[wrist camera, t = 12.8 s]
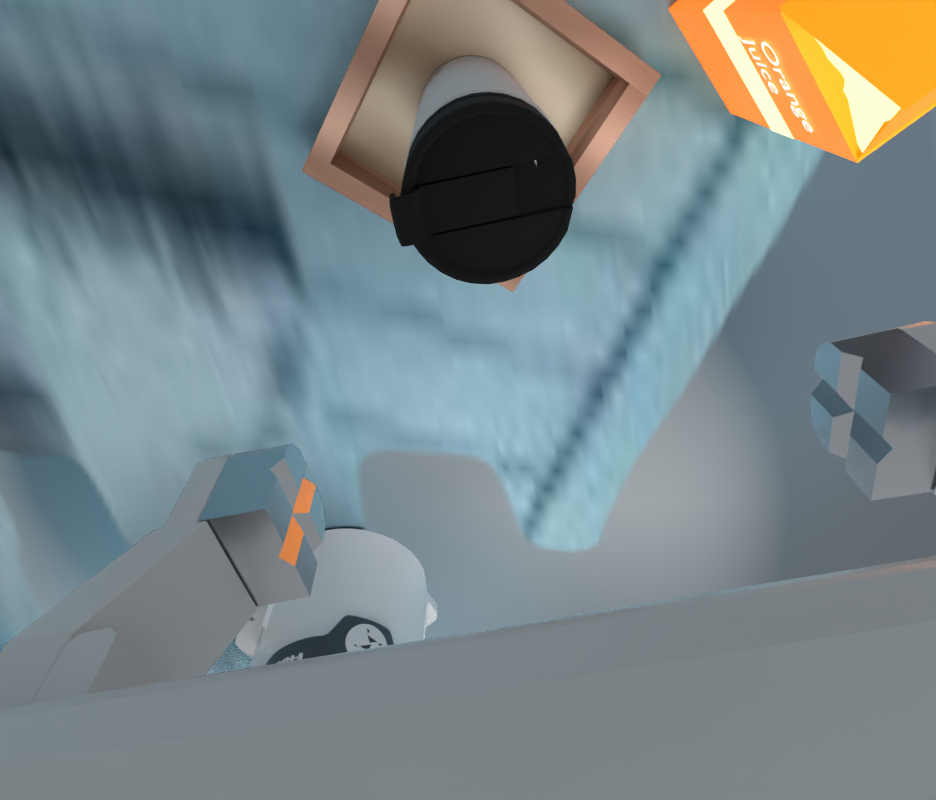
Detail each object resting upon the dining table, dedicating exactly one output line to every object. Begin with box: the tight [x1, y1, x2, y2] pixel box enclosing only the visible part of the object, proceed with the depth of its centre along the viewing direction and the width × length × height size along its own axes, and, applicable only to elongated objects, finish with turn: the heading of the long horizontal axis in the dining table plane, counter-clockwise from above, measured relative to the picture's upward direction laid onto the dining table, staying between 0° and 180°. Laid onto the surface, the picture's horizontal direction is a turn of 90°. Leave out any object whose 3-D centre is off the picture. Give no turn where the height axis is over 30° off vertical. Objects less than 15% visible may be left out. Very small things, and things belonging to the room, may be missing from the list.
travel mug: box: [389, 55, 576, 284], centre depth 30 cm, size 6×7×20 cm
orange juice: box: [669, 0, 936, 163], centre depth 28 cm, size 8×9×20 cm
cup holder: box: [302, 0, 661, 292], centre depth 37 cm, size 15×15×6 cm
